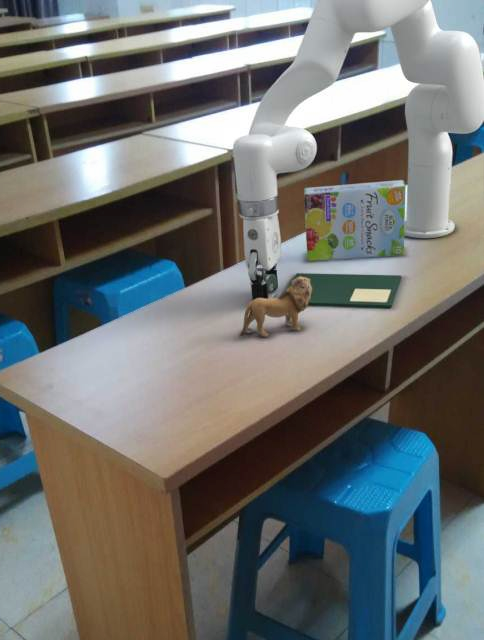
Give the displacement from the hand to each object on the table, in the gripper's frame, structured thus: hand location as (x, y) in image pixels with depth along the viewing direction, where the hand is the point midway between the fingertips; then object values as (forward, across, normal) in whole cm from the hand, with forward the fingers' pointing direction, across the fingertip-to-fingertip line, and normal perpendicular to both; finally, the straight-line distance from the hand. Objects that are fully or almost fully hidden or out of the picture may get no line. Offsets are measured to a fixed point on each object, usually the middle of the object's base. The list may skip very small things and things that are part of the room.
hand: (265, 294), depth 145 cm
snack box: (+1, +25, -14) cm, 28 cm away
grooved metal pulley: (+1, 0, 0) cm, 1 cm away
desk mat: (+1, +4, -14) cm, 15 cm away
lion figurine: (+1, -14, -6) cm, 15 cm away
